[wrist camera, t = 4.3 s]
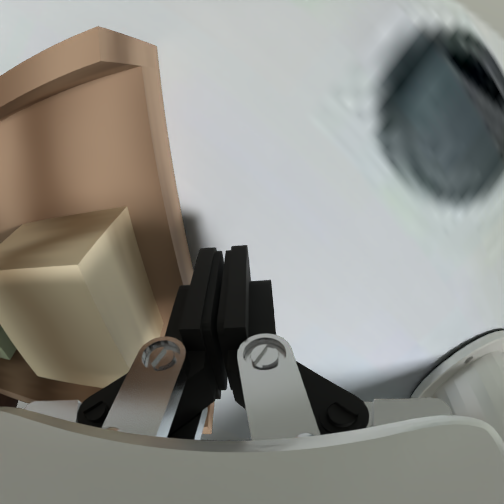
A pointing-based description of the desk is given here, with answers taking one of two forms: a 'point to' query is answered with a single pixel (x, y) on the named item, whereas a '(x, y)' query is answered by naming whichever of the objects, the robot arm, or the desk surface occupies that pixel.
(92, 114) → the box
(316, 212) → the desk surface
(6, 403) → the coffee mug
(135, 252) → the beech block
